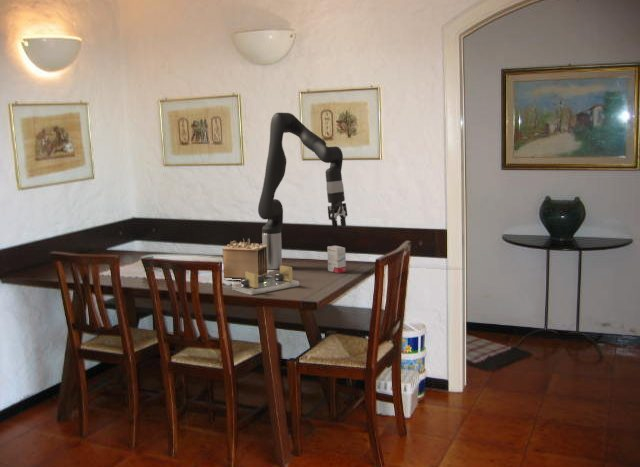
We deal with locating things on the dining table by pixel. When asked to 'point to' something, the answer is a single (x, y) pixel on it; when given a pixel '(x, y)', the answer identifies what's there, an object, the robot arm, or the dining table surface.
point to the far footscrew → (284, 273)
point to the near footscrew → (250, 279)
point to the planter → (244, 259)
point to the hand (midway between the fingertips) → (339, 227)
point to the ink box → (336, 259)
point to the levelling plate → (265, 285)
